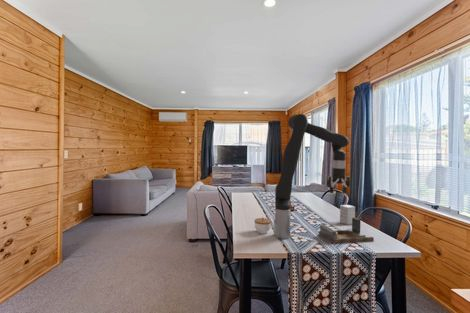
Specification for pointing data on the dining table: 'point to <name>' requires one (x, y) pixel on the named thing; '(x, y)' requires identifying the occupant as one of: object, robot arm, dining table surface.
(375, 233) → the dining table surface
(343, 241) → the press base
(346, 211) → the supplement box
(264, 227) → the lidded jar
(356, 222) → the press jaw
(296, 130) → the robot arm
